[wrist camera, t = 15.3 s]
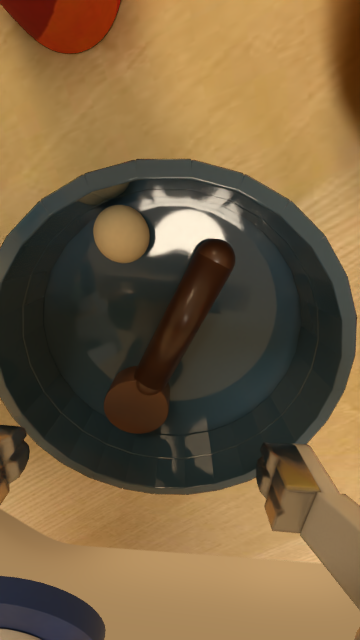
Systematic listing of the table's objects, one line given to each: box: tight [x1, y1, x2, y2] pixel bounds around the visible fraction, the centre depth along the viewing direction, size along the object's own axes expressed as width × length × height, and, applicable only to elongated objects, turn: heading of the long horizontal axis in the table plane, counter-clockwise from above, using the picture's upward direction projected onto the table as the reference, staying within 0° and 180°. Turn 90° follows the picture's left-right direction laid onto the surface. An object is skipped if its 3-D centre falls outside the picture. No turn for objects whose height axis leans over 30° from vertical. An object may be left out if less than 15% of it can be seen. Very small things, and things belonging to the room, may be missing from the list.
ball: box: [93, 205, 150, 263], centre depth 13 cm, size 3×3×3 cm
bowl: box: [0, 159, 357, 495], centre depth 15 cm, size 19×19×5 cm
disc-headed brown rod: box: [104, 239, 236, 434], centre depth 15 cm, size 15×5×2 cm, turn 153°
